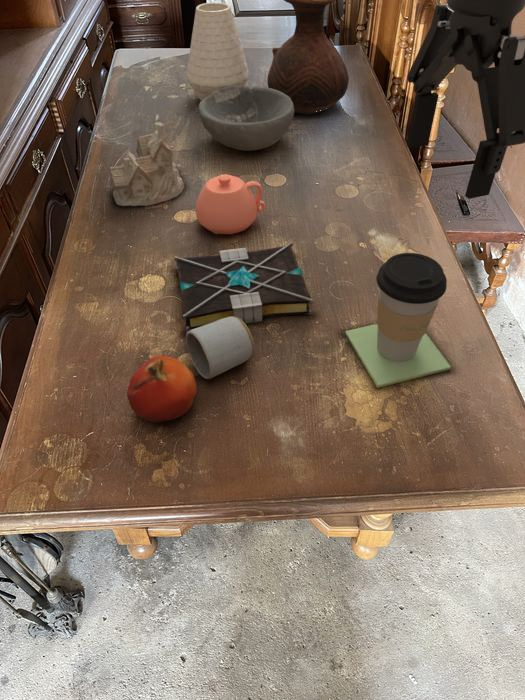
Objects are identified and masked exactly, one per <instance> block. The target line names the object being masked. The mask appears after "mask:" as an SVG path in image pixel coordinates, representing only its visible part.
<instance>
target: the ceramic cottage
mask: <svg viewBox="0 0 525 700" xmlns="http://www.w3.org/2000/svg"><path fill="white" fill-rule="evenodd" d="M167 139H168V138H167V135H166V133H165V126H164V123H162V122H161V121H156V122H154V124H153V133H150V134H146V135H140V136H137V137H136V141H137V143H136V149H135V151H136V153H137V157H136V156H135V155H134V154H133V153H131V151H130V150H127V151H126V154H125V157H124V158H123V159H122V164H121V165H119V166H110V168H109V175H110V179H109V182H110V186H111V187H112V188H114V190H113V191H112V197H113V198H114V202H115V204H116V205H117V206H121V207H126V206H127V207H137V206H138V207H140V206H141V207H147V206H153V205H156V204H160V203H162V202H163V203H164V202H168V201H170V200H172V199H174V198H176V197H179V196H180V194H181V193H182V192H183V191H184V188H185V184H184V180H183V178H182V177H181V175H180V171H179V170H178V164H176V163H174V161H173V155H174V152H173V151H172V150H171V149H170V146H169V145H168V140H167Z"/></svg>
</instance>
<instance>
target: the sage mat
mask: <svg viewBox="0 0 525 700" xmlns="http://www.w3.org/2000/svg"><path fill="white" fill-rule="evenodd" d="M377 333H378V325H377V323H374V324H371V325H366V326H361V327H357V328H353V329H348V330H345V331H344V335H345V336H346V338H347V340H348V341H349V343H350V345H351V347H352V348H353V350H354V351H355V353H356V355H357V356H358V358H359V360H360V362H361V363H362V365H363V366H364V368H365V370H366V371H367V373H368V375H369V377H370V379H371V381H372V382H373V384H374V385H375V386H376V388H378V389H379V388H382V387H386V386H390V385H394V384H398V383H402V382H406V381H411V380H414V379H418V378H422V377H426V376H431V375H433V374H439V373H441V372H446V371H449V370H451V368H452V366H451V365H450V363H449V362H448V360H447V359H446V358H445V357H444V356H443V354H442V352H441V351H440V350H439V349H438V347H437V346H436V345H435V344H434V342H433V340H432V339H431V338H430V337H429V336H428V334H427V332H425V334H424V335H423V337H422V339H421V341H420V344H419V346H418V348H417V351H416V353H415V355H414V356H413V357H412V358H410V359H408V360H406V361H401V362H395V361H391V360H388V359H386V358H385V357H384V356H382V355H381V354H380V352H379V351H378V348H377Z"/></svg>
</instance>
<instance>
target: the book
mask: <svg viewBox="0 0 525 700" xmlns="http://www.w3.org/2000/svg"><path fill="white" fill-rule="evenodd" d="M293 247H294V242H292V241H290V242H289V243H286V245H281V246H276V247H270V248H266V249H259V250H252V251H251V250H250V251H248V250H247V247H240V248H233V249H231V248H230V249H223V250H219V254H214V255H205V256H193V257H180V256H177V255H175V256H174V262H176V267H175V268H174V269H175V272H176V273H177V274H178V275H177V276H178V280H179V286H180V294H181V301H182V307H183V308H182V309H183V315H182V320H183V321H184V322H185V331H186V333H187V332H188V331H190V330H192V329H195V328H198V327H201V326H204V325H207V324H210V323H213V322H215V321H218V320H220V319H223V318H227V317H233V316H234V317H238V318H240V319H241V320H242V321H243V322H244V323H245V324H251V323H257V322H263V318H269V317H276V316H277V317H278V316H290V315H291V316H292V315H309V316H312V314H313V313H312V310H311V309H310V306H309V303H310V304H311V305H313V303H314V298H311V295H310V292H309V290H308V287H307V285H306V282H305V279H304V277H303V273H302V266H300V265H299V263H298V260H297V258H296V254H295V251H294V249H293Z"/></svg>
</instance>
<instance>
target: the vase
mask: <svg viewBox="0 0 525 700" xmlns="http://www.w3.org/2000/svg"><path fill="white" fill-rule="evenodd" d="M190 40H191V41H190V47H189V54H188V59H187V60H188V61H187V67H186V74H185V76H186V80H187V82H188V84H189V85H190V87H191V89H192V90H193V92H194V93H195V95H196V97H197V98H198V100H199V99H200V100H203V99H204V98H206V97H208V96H209V95H211V94H212V93H213V92H215V91H217V90H219V89H221V88H227V87H230V86H246V85H247V83H248V80H249V78H250V71H249V70H250V69H249V67H248V62H247V60H246V56H245V52H244V50H243V45H242V42H241V38H240V36H239V31H238V28H237V25H236V21H235V18H234V15H233V11H232V7H231V5H230V4H229V3H225V2H205V3H201V4H198V5H197V6H196V7H195V13H194V20H193V27H192V33H191V39H190ZM200 100H199V101H200Z"/></svg>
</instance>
